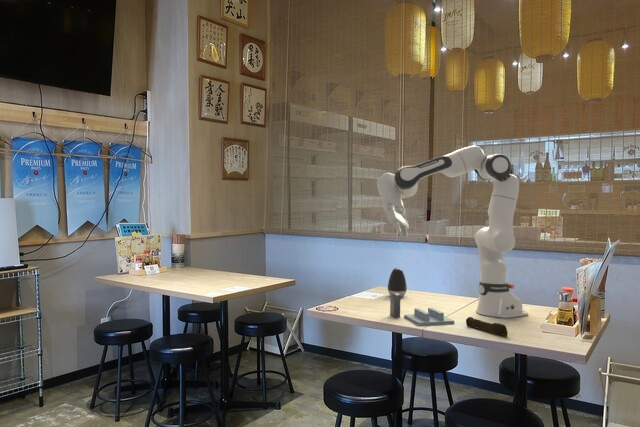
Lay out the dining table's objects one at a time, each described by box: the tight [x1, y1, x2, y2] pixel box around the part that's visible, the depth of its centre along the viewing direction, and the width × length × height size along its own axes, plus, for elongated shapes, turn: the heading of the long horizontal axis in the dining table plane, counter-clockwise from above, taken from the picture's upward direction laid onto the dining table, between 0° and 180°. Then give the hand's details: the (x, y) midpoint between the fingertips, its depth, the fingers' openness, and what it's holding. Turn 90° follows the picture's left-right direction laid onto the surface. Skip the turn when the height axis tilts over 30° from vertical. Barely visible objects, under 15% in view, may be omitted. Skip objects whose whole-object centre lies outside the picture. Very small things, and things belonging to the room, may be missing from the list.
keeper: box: [404, 307, 455, 327], centre depth 201 cm, size 16×14×4 cm
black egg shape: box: [386, 267, 408, 298], centre depth 253 cm, size 10×10×15 cm
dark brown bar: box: [465, 316, 508, 338], centre depth 185 cm, size 19×4×5 cm, turn 26°
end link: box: [389, 293, 401, 318], centre depth 208 cm, size 3×4×10 cm
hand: (402, 235), depth 209 cm, fingers open, 8 cm apart
